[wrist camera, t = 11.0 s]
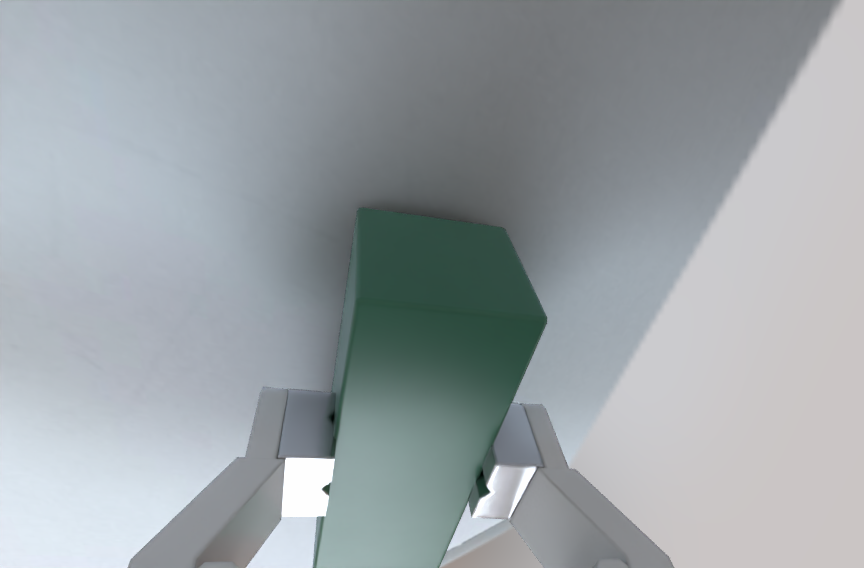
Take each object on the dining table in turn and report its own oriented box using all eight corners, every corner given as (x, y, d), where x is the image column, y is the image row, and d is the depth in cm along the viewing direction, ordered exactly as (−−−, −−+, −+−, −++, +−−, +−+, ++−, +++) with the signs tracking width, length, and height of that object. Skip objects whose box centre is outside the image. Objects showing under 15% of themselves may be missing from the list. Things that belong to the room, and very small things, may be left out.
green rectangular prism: (357, 204, 9) (355, 299, 7) (505, 225, 10) (551, 319, 8) (321, 462, 14) (312, 575, 11) (425, 465, 14) (438, 573, 12)
